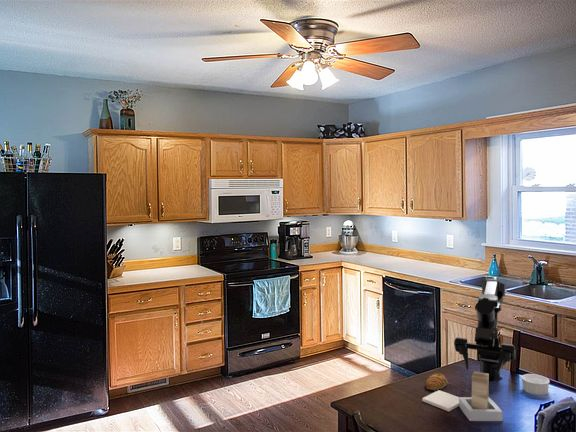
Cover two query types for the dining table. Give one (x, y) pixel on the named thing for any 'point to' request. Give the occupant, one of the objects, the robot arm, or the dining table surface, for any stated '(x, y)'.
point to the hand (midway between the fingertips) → (482, 371)
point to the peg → (480, 390)
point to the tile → (442, 400)
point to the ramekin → (535, 384)
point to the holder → (480, 410)
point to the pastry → (436, 382)
